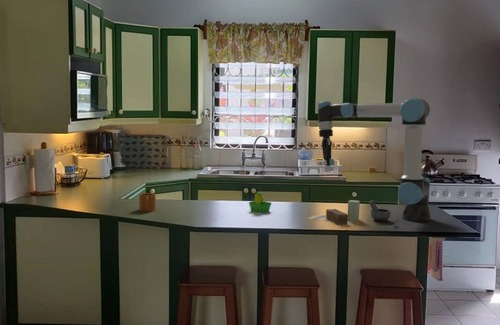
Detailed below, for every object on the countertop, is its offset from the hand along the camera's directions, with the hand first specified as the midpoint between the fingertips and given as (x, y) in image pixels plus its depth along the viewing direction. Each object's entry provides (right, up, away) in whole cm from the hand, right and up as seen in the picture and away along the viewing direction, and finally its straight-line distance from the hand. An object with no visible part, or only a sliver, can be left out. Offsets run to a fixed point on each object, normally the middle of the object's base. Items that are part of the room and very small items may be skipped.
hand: (328, 171), depth 298 cm
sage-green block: (+10, -25, -22) cm, 35 cm away
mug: (-101, -22, -1) cm, 103 cm away
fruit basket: (-38, -23, +3) cm, 45 cm away
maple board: (0, -26, -21) cm, 33 cm away
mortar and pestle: (+23, -27, -21) cm, 41 cm away
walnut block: (-1, -22, -19) cm, 29 cm away
